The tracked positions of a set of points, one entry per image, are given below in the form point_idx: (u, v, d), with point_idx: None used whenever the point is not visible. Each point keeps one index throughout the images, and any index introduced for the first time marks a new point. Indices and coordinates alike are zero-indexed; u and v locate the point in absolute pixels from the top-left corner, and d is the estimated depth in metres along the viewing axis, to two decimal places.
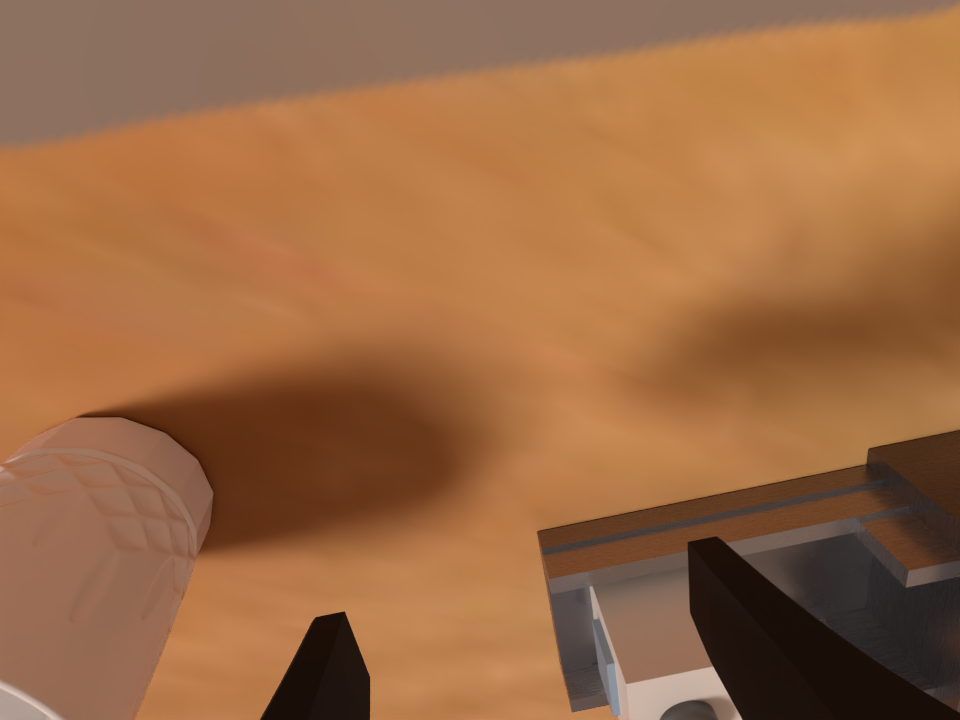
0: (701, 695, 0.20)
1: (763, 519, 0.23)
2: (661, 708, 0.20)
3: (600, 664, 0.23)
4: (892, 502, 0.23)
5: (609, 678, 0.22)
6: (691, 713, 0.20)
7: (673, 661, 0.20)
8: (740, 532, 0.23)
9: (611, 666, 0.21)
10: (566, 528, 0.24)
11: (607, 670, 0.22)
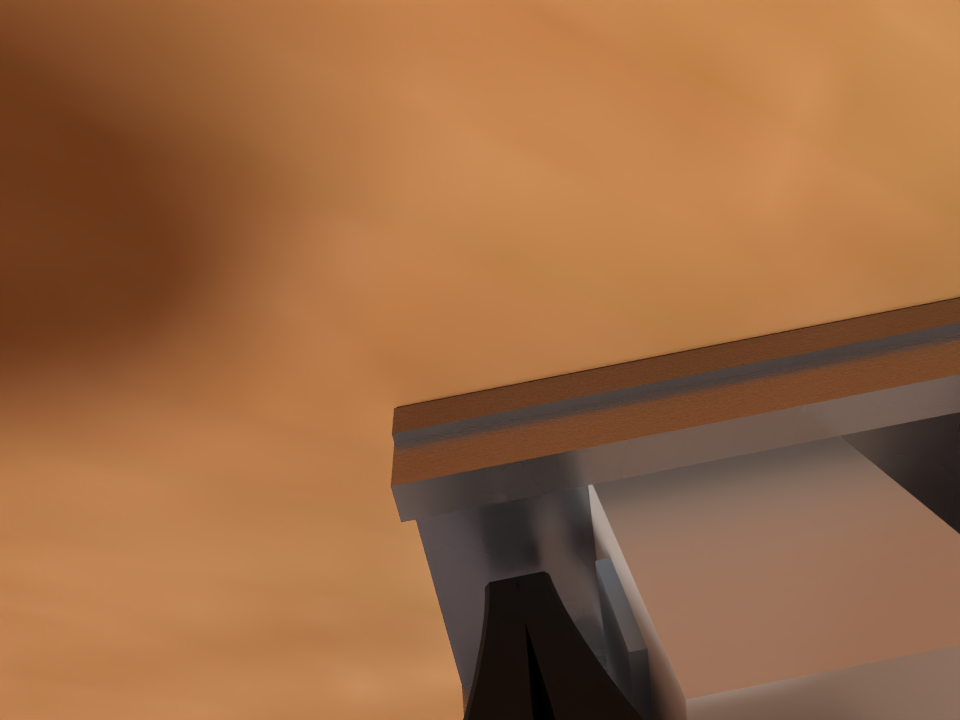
0: None
1: (856, 369, 0.11)
2: None
3: (612, 654, 0.11)
4: None
5: (634, 683, 0.10)
6: None
7: (802, 641, 0.08)
8: (808, 391, 0.10)
9: (640, 656, 0.09)
10: (451, 400, 0.12)
11: (630, 665, 0.09)
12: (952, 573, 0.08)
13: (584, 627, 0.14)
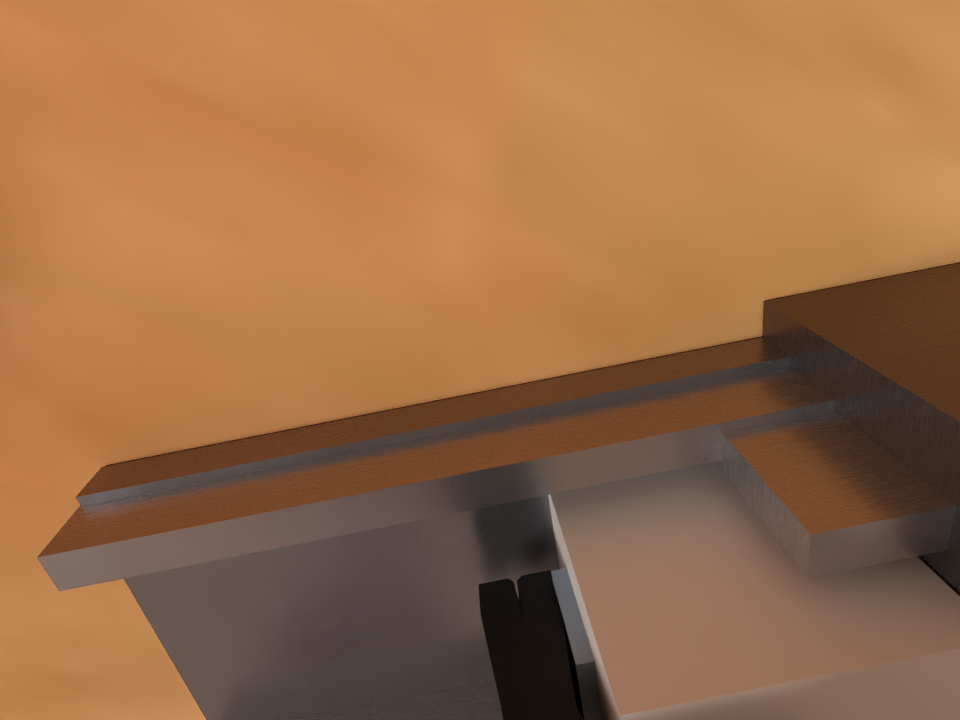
0: None
1: (530, 434, 0.11)
2: None
3: None
4: (800, 396, 0.10)
5: (583, 695, 0.10)
6: None
7: (741, 656, 0.08)
8: (470, 459, 0.10)
9: (587, 668, 0.09)
10: (156, 459, 0.12)
11: (578, 677, 0.09)
12: (896, 587, 0.08)
13: (330, 678, 0.14)
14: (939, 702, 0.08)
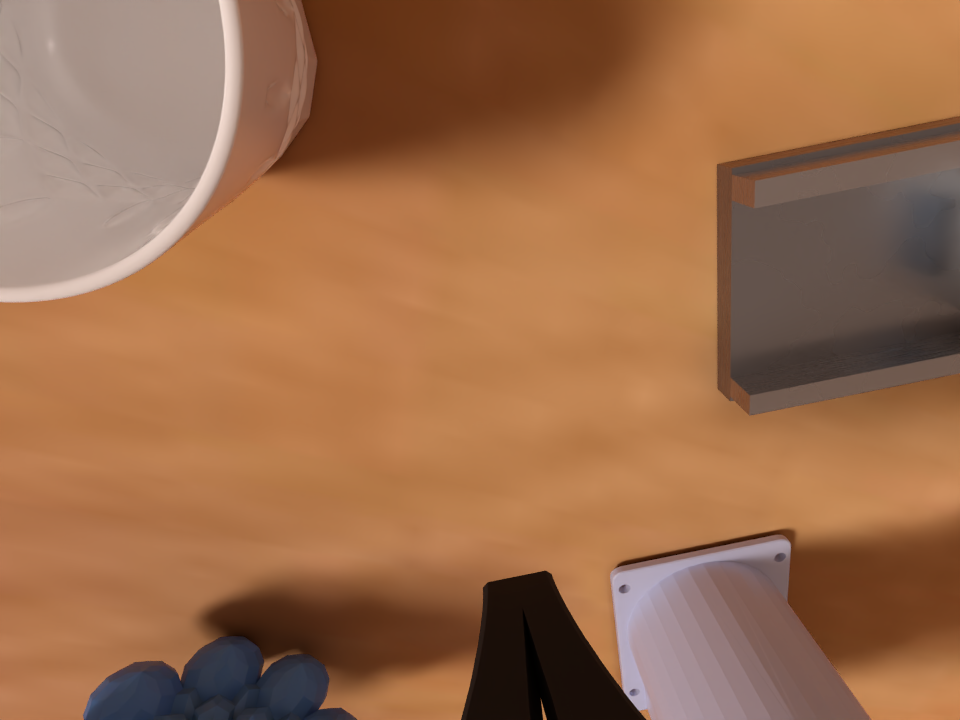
0: None
1: None
2: None
3: None
4: None
5: None
6: None
7: None
8: None
9: None
10: (755, 157, 0.19)
11: None
12: None
13: (818, 331, 0.21)
14: None
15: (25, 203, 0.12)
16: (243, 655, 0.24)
